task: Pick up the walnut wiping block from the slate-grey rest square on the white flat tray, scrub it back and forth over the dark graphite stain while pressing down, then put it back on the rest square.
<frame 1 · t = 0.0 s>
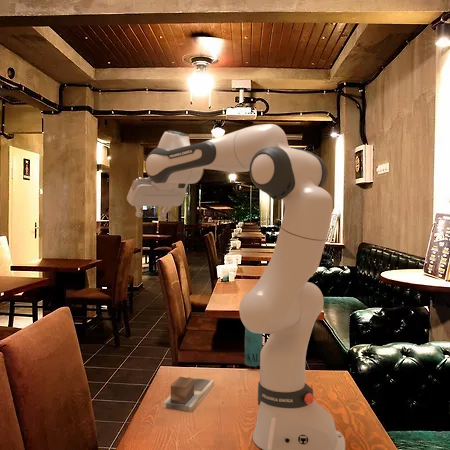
hand: (150, 216, 149), 54 cm above the table, tool tilted 30°, fingers open, 8 cm apart
wiping block: (182, 398, 131), point 2 cm above the table, touching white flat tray
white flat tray: (189, 395, 137), on the table
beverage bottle: (253, 368, 161), on the table
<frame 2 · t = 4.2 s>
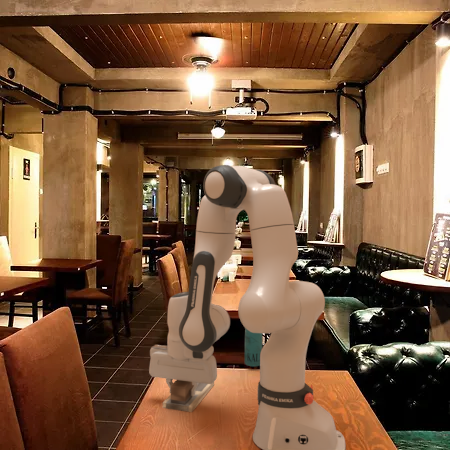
hand: (182, 394, 131), 3 cm above the table, tool pointing down, fingers closed on wiping block, 4 cm apart
wiping block: (182, 398, 131), point 2 cm above the table, touching gripper, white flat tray
everything else where it was.
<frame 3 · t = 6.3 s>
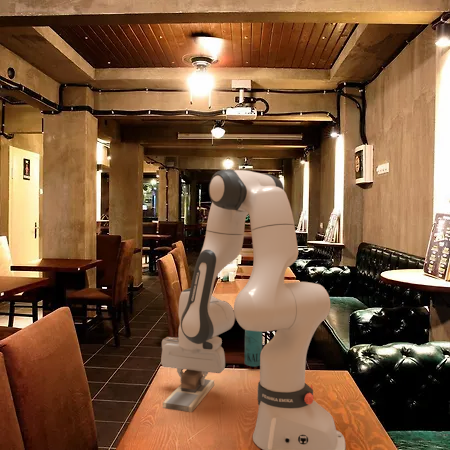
hand: (192, 383, 139), 3 cm above the table, tool pointing down, fingers closed on wiping block, 4 cm apart
wiping block: (192, 387, 139), point 2 cm above the table, touching gripper
everything else where it was.
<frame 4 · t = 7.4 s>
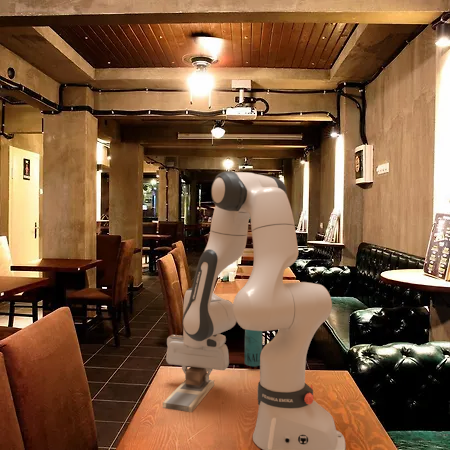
hand: (197, 380, 142), 3 cm above the table, tool pointing down, fingers closed on wiping block, 4 cm apart
wiping block: (196, 383, 142), point 2 cm above the table, touching gripper
everything else where it was.
when the fingers open (4 cm above the table, at t = 16.5 s): wiping block drops 2 cm, resting on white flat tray.
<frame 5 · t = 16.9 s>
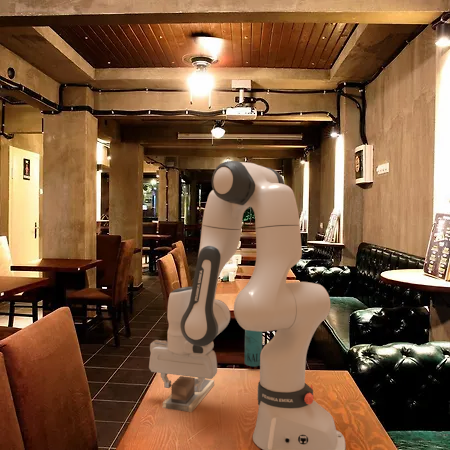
hand: (182, 389, 131), 4 cm above the table, tool pointing down, fingers open, 8 cm apart
wiping block: (183, 398, 131), point 2 cm above the table, touching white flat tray
everything else where it was.
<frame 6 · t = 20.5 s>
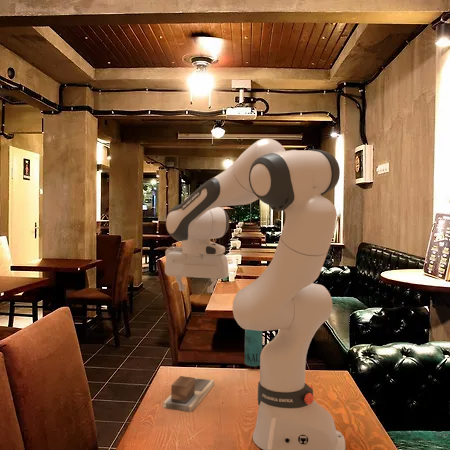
hand: (196, 291, 140), 31 cm above the table, tool pointing down, fingers open, 8 cm apart
nothing on the table moved.
at the end: wiping block 0.6 cm from the target spot on the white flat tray, point 1.5 cm above the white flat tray's base; the gripper is holding nothing; wiping block tilted 0° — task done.
